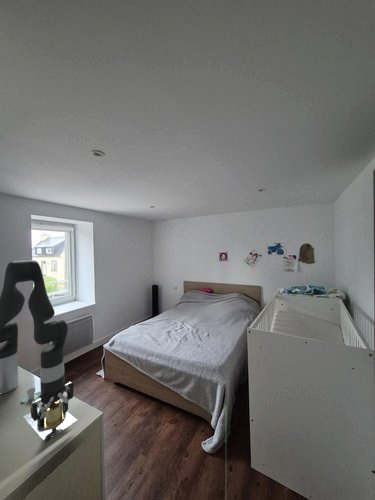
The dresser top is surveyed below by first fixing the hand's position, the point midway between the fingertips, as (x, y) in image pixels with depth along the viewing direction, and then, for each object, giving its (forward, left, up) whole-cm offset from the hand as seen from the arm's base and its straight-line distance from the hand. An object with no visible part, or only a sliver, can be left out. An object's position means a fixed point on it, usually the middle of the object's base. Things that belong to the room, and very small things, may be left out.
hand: (54, 419), depth 75 cm
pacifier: (-29, +2, -6) cm, 29 cm away
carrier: (-8, +1, -5) cm, 9 cm away
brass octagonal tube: (0, 0, -1) cm, 1 cm away
